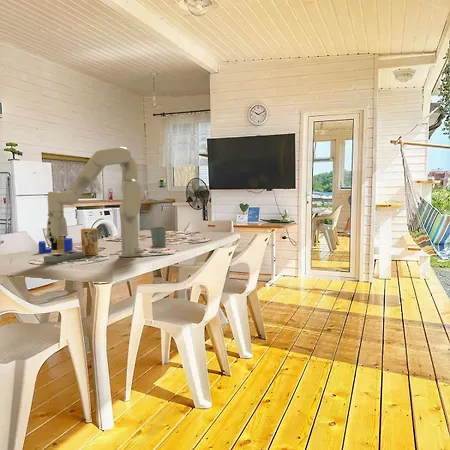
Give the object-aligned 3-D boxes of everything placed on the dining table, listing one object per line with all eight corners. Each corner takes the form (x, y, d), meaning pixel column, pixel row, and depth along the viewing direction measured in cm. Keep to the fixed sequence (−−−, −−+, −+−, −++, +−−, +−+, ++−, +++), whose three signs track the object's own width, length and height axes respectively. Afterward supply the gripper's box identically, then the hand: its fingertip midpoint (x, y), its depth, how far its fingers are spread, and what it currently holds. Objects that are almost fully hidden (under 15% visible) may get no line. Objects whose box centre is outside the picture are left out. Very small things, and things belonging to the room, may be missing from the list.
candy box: (98, 253, 238) (97, 227, 237) (98, 254, 234) (96, 228, 233) (82, 254, 236) (81, 228, 235) (82, 255, 232) (80, 229, 231)
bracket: (69, 249, 261) (68, 237, 260) (75, 250, 255) (74, 238, 254) (37, 253, 248) (37, 240, 247) (43, 254, 241) (42, 241, 240)
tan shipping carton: (65, 252, 216) (64, 237, 215) (58, 253, 212) (57, 238, 211) (57, 251, 218) (56, 236, 217) (50, 252, 214) (50, 237, 213)
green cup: (164, 246, 266) (164, 228, 265) (149, 246, 266) (149, 228, 265) (167, 244, 276) (166, 226, 275) (152, 244, 276) (152, 227, 275)
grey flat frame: (71, 256, 230) (71, 251, 230) (84, 257, 227) (83, 251, 227) (43, 262, 212) (43, 256, 211) (57, 263, 208) (56, 257, 208)
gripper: (49, 216, 204) (51, 251, 205) (73, 214, 219) (74, 247, 221) (37, 215, 207) (39, 251, 208) (62, 214, 222) (64, 247, 224)
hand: (57, 248), depth 215 cm, fingers closed on tan shipping carton, 4 cm apart
